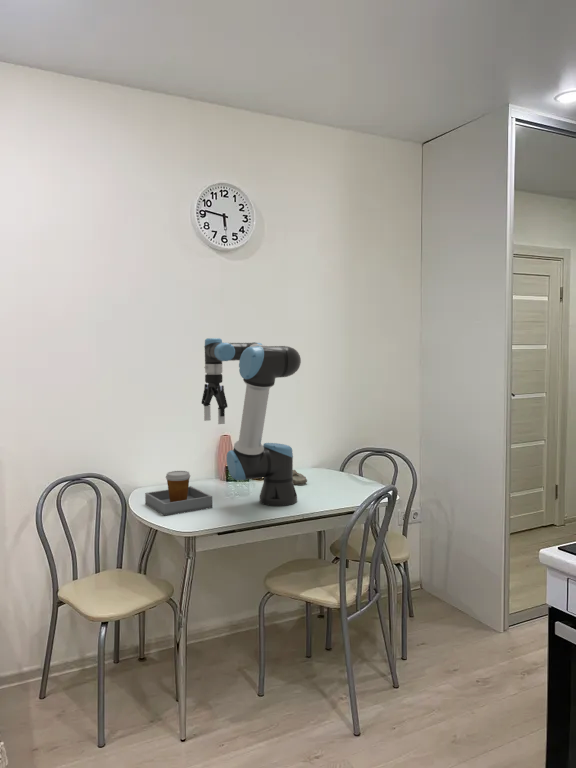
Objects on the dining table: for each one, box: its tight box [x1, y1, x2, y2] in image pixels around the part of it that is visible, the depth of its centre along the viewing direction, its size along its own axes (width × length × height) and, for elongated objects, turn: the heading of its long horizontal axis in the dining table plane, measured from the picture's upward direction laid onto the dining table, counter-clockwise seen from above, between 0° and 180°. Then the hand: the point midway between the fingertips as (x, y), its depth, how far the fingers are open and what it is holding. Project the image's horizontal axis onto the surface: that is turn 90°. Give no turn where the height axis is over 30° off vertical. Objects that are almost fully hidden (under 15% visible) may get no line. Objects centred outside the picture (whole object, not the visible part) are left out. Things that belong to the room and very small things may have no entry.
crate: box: [144, 486, 213, 517], centre depth 240 cm, size 20×20×4 cm
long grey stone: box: [293, 469, 308, 485], centre depth 285 cm, size 35×5×10 cm
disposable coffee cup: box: [165, 470, 191, 502], centre depth 239 cm, size 10×10×12 cm
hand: (214, 422), depth 269 cm, fingers open, 13 cm apart
